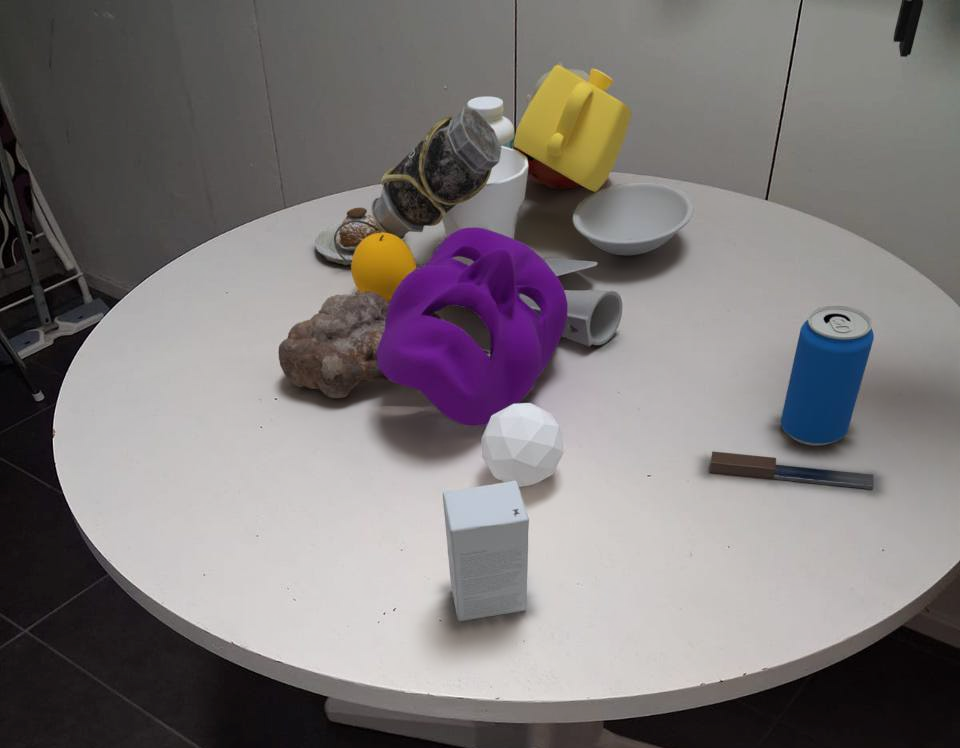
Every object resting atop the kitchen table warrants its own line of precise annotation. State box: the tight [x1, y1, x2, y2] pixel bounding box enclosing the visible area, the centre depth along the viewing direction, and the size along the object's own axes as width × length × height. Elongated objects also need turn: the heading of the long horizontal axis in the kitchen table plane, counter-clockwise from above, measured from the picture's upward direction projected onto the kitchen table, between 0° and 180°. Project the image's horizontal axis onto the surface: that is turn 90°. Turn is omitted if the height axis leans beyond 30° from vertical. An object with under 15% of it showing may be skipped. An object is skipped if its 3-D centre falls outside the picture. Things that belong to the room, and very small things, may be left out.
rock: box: [277, 291, 442, 399], centre depth 104 cm, size 18×12×10 cm, turn 108°
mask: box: [377, 228, 568, 427], centre depth 94 cm, size 17×15×25 cm
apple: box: [350, 233, 417, 303], centre depth 115 cm, size 8×8×8 cm
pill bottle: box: [466, 96, 515, 150], centre depth 127 cm, size 8×7×14 cm
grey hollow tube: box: [518, 289, 623, 347], centre depth 111 cm, size 6×6×19 cm
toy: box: [514, 61, 590, 190], centre depth 132 cm, size 15×15×15 cm
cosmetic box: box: [442, 481, 530, 622], centre depth 76 cm, size 6×4×12 cm
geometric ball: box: [480, 402, 565, 488], centre depth 89 cm, size 8×8×8 cm
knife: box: [709, 450, 875, 490], centre depth 90 cm, size 15×2×1 cm, turn 76°
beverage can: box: [780, 304, 875, 447], centre depth 90 cm, size 6×6×12 cm
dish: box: [572, 181, 694, 256], centre depth 120 cm, size 18×14×5 cm
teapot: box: [514, 64, 632, 193], centre depth 119 cm, size 20×12×12 cm
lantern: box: [334, 106, 502, 265], centre depth 114 cm, size 9×8×25 cm
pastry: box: [314, 207, 405, 266], centre depth 125 cm, size 12×12×5 cm
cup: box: [441, 146, 528, 266], centre depth 119 cm, size 12×12×11 cm
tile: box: [543, 258, 598, 277], centre depth 114 cm, size 20×11×1 cm, turn 124°
